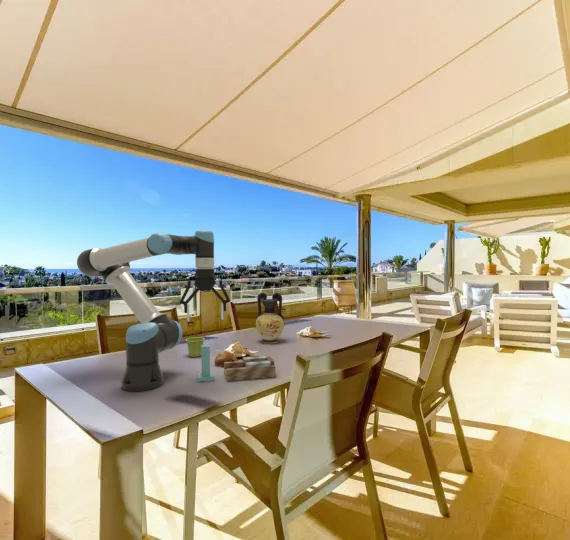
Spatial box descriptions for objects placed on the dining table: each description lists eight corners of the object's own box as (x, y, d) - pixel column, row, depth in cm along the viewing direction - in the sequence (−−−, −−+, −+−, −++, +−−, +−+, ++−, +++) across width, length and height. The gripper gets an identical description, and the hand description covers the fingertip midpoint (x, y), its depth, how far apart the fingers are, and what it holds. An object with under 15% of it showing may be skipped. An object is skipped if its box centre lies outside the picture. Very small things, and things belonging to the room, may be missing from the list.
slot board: (226, 381, 139) (226, 366, 139) (224, 372, 151) (224, 358, 151) (275, 377, 144) (275, 362, 144) (269, 368, 156) (269, 355, 156)
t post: (197, 381, 139) (197, 348, 139) (197, 377, 145) (197, 344, 145) (214, 380, 141) (213, 347, 140) (213, 375, 147) (213, 343, 147)
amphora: (283, 338, 220) (283, 291, 220) (285, 344, 203) (285, 293, 203) (255, 339, 219) (255, 291, 219) (255, 345, 202) (254, 293, 202)
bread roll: (228, 368, 170) (222, 352, 171) (243, 362, 165) (237, 346, 167) (214, 373, 161) (208, 357, 163) (229, 367, 156) (223, 350, 158)
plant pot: (207, 353, 184) (206, 337, 184) (201, 358, 174) (200, 341, 174) (190, 353, 185) (189, 337, 185) (183, 358, 175) (182, 340, 175)
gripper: (172, 268, 136) (173, 323, 136) (236, 268, 142) (237, 320, 142) (173, 268, 143) (174, 320, 143) (234, 268, 149) (234, 317, 149)
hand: (205, 320), depth 143 cm, fingers open, 13 cm apart
